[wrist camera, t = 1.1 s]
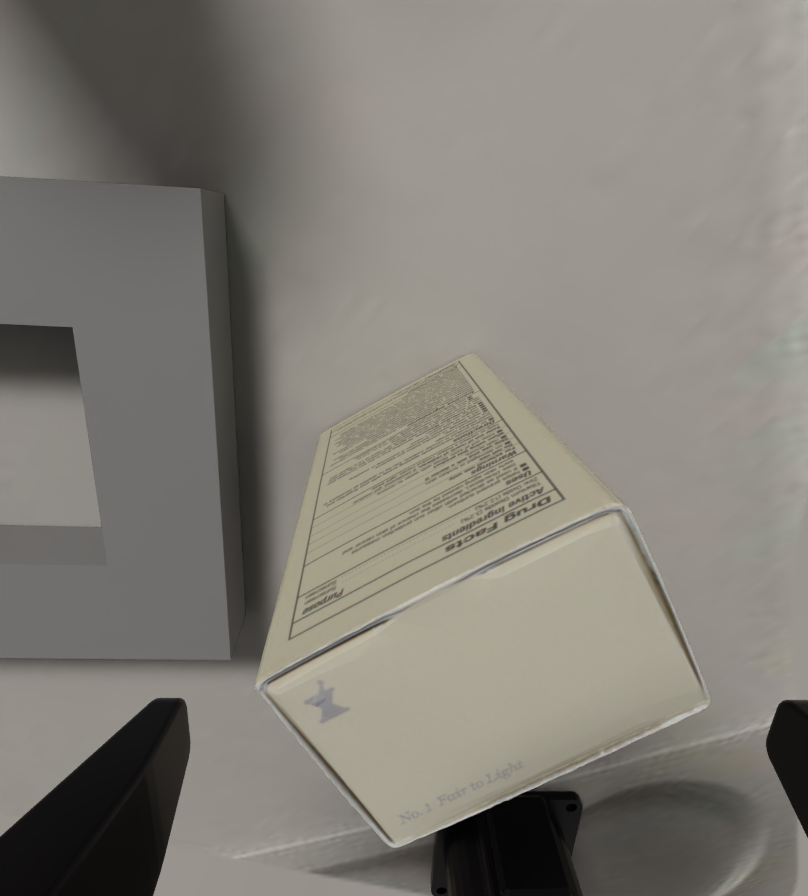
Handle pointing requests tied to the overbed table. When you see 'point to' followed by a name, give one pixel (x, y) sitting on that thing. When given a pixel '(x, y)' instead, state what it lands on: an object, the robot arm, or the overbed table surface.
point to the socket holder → (130, 423)
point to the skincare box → (466, 610)
